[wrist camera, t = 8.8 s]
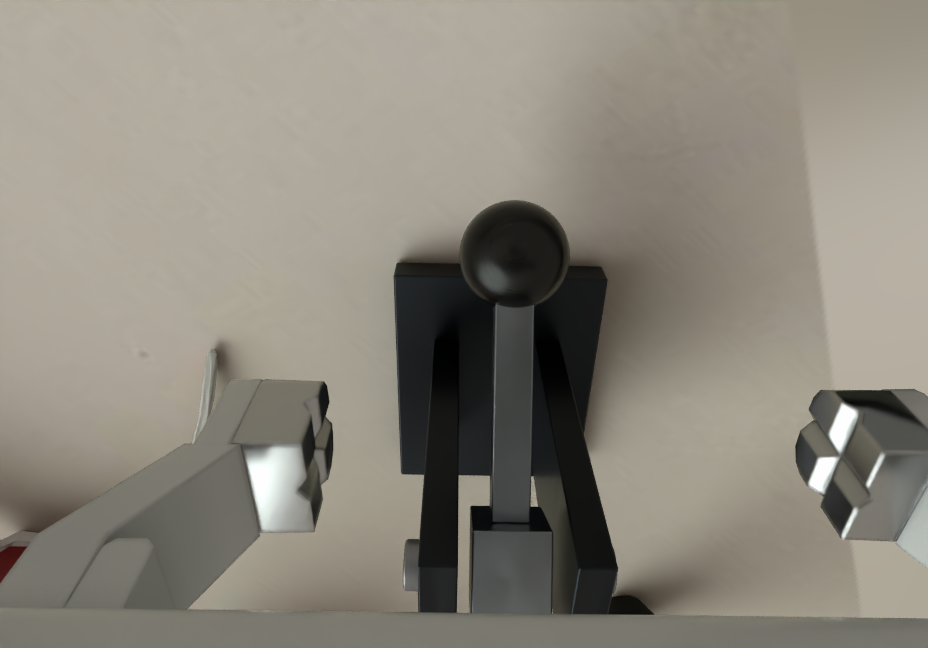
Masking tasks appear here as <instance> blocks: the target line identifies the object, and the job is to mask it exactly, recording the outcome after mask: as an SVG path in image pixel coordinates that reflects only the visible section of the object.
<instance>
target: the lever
mask: <svg viewBox="0 0 928 648" xmlns="http://www.w3.org/2000/svg"><path fill="white" fill-rule="evenodd" d="M569 261H570V249H569V244H568V240H567V236H566V234H565V232H564V230H563V228H562V226H561V225H560V223H559V222H558V220H557V219H556V218H555V217H554V216H553V215H552V214H551V213H550V212H548V211H547V210H545V209H544V208H542V207H540V206H538V205H536V204H533V203H531V202H526V201H519V200H512V201H504V202H500V203H496V204H494V205H492V206H489V207H488V208H486V209H484V210H483V211H481V212H480V213H479V214H478V215H477V216H476V217H475V218H474V219H473V220H472V221H471V223H470V224H469V226H468V227H467V229H466V231H465V233H464V235H463V238H462V240H461V245H460V251H459V262H460V268H461V272H462V275H463V277H464V280H465V282H466V284H467V285H468V287H469V288H470V290H471V291H472V292H473V293H474V294H475V295H476V296H477V297H478V298H479V299H480V300H482V301H483V302H485V303H486V304H488V305H490V306H492V307H493V354H492V409H491V463H490V506H471V507H470V560H469V608H470V613H522V614H552V582H553V531H552V529H551V527H550V525H549V523H548V521H547V519H546V516H545V514H544V512H543V510H542V508H541V507H530V502H531V447H532V392H533V336H534V307H536V306H538V305H541V304H542V303H544V302H545V301H547V300H548V299H549V298H550V297H552V296H553V295H554V294H555V293H556V291H557V290H558V289H559V288H560V286H561V285H562V283H563V281H564V279H565V277H566V274H567V271H568V267H569Z"/></svg>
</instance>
